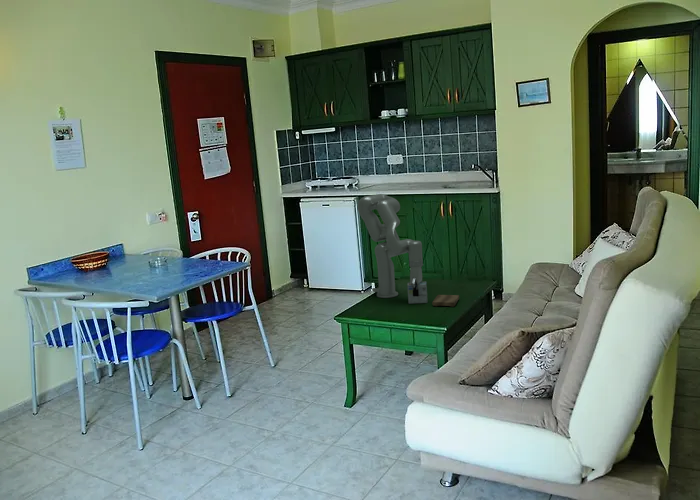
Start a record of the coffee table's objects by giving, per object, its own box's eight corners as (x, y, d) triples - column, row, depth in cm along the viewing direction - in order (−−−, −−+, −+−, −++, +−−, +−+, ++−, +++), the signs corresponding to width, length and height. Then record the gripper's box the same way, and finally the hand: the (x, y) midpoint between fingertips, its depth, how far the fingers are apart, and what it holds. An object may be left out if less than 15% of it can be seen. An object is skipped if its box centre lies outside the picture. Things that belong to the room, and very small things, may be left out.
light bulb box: (427, 299, 342) (426, 281, 340) (427, 303, 335) (426, 284, 333) (408, 300, 343) (407, 282, 341) (408, 303, 336) (407, 284, 334)
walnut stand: (432, 306, 328) (432, 302, 327) (437, 299, 342) (437, 294, 341) (454, 307, 324) (454, 302, 323) (459, 299, 338) (459, 295, 337)
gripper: (412, 259, 344) (414, 290, 348) (405, 266, 328) (407, 298, 331) (426, 260, 342) (427, 290, 345) (419, 266, 326) (420, 298, 329)
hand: (417, 294), depth 338 cm, fingers closed on light bulb box, 7 cm apart
